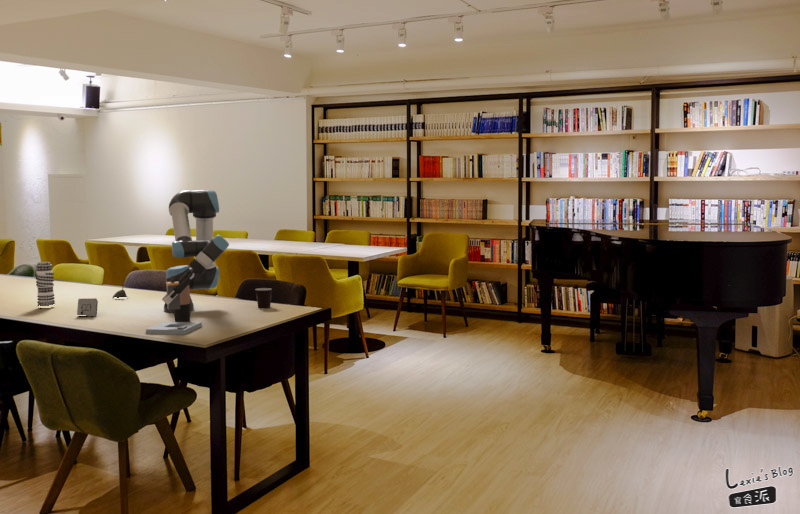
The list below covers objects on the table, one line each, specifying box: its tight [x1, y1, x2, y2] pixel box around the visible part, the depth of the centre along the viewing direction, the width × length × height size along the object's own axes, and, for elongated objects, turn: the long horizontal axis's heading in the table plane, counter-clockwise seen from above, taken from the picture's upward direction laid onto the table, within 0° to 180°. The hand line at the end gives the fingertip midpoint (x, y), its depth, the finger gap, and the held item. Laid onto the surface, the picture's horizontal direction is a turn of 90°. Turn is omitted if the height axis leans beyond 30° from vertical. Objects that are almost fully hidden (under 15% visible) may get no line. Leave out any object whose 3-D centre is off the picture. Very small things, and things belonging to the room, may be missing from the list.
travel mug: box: [173, 280, 191, 322], centre depth 341 cm, size 8×8×20 cm
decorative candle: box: [34, 261, 56, 307], centre depth 385 cm, size 9×9×25 cm
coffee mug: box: [255, 287, 273, 309], centre depth 380 cm, size 12×9×10 cm
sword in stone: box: [112, 278, 128, 298], centre depth 417 cm, size 10×8×12 cm
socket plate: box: [145, 321, 202, 336], centre depth 321 cm, size 18×18×3 cm
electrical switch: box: [76, 297, 99, 317], centre depth 359 cm, size 9×5×9 cm, turn 90°
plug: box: [165, 276, 180, 310], centre depth 319 cm, size 5×5×15 cm
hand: (164, 302), depth 318 cm, fingers closed on plug, 5 cm apart
